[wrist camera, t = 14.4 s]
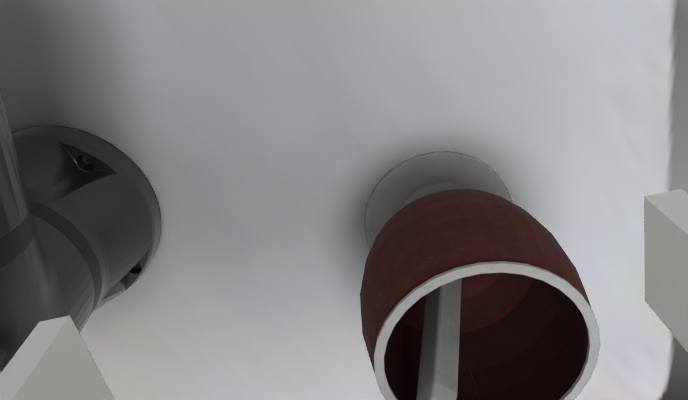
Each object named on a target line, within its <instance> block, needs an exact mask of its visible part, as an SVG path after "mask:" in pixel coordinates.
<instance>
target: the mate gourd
mask: <svg viewBox="0 0 688 400" xmlns="http://www.w3.org/2000/svg"><path fill="white" fill-rule="evenodd" d="M365 232H366V237H367V241H368V244H369V247H370V249H371V250H370V252H369V255H368V257H367V260H366V265H365V270H364V276H363V281H362V287H361V292H360V299H361V316H362V331H363V336H364V340H365V343H366V346H367V350H368V353H369V357H370V360H371V363H372V366H373V370H374V372H375V376H376V379H377V383H378V386H379V389H380V391H381V393H382V395H383V396H384V398H385V400H574V399H575V398H576V397H577V396H578V395H579V394H580V393H581V391H582V390H583V389H584V387H585V386H586V384H587V383H588V381H589V380H590V378H591V376H592V373H593V371H594V369H595V366H596V364H597V361H598V355H599V349H600V335H599V326H598V324H597V321H596V318H595V315H594V312H593V310H592V309H591V306H590V303H589V300H588V298H587V295H586V292H585V289H584V287H583V285H582V282H581V280H580V277H579V275H578V272H577V270H576V268H575V267H574V265H573V264H572V262H571V261H570V259H569V258H568V256H567V255H566V253H565V252H564V251H563V249H562V248H561V246H560V245H559V243H558V242H557V241H556V239H555V238H554V236H553V235H552V234H551V233H550V232H549V231H548V230H547V229H546V228H545V227H544V226H543V225H541V224H540V223H539V222H538V221H537V220H536V219H535V218H533V217H532V216H531V215H530V214H529V213H528V212H526V211H525V210H524V209H522V208H520V207H519V206H517V205H515V204H513V203H512V200H511V197H510V195H509V192H508V190H507V188H506V186H505V185H504V183H503V182H502V180H501V179H500V178H499V176H498V175H497V174H496V173H495V172H494V171H493V170H492V169H491V168H490V167H489V166H488V165H486V164H484V163H483V162H481V161H479V160H477V159H476V158H473V157H470V156H467V155H464V154H461V153H453V152H432V153H427V154H423V155H419V156H416V157H413V158H411V159H409V160H407V161H404V162H402V163H401V164H399V165H398V166H397V167H395V168H394V169H392V170H391V171H390V172H389V173H388V174H387V175H386V176H385V177H384V178H383V179H382V180H381V181H380V182H379V183H378V185H377V186H376V188H375V189H374V191H373V192H372V194H371V197H370V199H369V202H368V204H367V208H366V214H365Z"/></svg>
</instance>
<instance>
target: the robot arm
mask: <svg viewBox="0 0 688 400" xmlns="http://www.w3.org/2000/svg"><path fill="white" fill-rule="evenodd" d="M644 232H645V301H646V302H647V304H648V305H649V306H650V307H651V309H652V310H653V311H654V312H655V313H656V315H657V316H658V317H659V318H660V319H661V321H662V322H663V323H664V324H665V325H666V327H667V328H668V329H669V330H670V331H671V333H672V334H673V335H674V336H675V337H676V339H677V340H678V341H679V342H680V344H681V345H682V346H683V347H684V348H685V350H686V351H687V352H688V194H687V193H685V192H684V191H683V190H682V189H679V190H674V191H669V192H664V193H660V194H655V195H650V196H645V197H644ZM160 233H161V216H160V210H159V206H158V202H157V199H156V196H155V194H154V192H153V190H152V188H151V186H150V184H149V182H148V181H147V179H146V178H145V176H144V175H143V173H142V172H141V171H140V170H139V168H138V167H137V166H136V165H135V164H134V163H133V162H132V161H131V160H130V159H129V158H128V157H127V156H126V155H124V154H123V153H122V152H121V151H119V150H118V149H117V148H115V147H114V146H112V145H111V144H109V143H107V142H106V141H104V140H102V139H100V138H98V137H96V136H93V135H91V134H88V133H86V132H82V131H79V130H75V129H71V128H66V127H59V126H37V127H30V128H25V129H22V130H18V131H15V132H13V133H11V129H10V125H9V121H8V117H7V113H6V109H5V105H4V101H3V97H2V94H1V90H0V400H115V398H114V396H113V395H112V393H111V391H110V389H109V387H108V385H107V383H106V382H105V380H104V378H103V376H102V374H101V372H100V370H99V369H98V367H97V365H96V363H95V361H94V359H93V358H92V356H91V354H90V352H89V350H88V348H87V346H86V345H85V343H84V341H83V339H82V337H81V335H80V331H81V330H82V328H83V327H84V325H85V323H86V322H87V320H88V318H89V317H90V315H91V313H92V312H93V311H94V310H96V309H97V308H99V307H100V306H102V305H103V304H105V303H107V302H108V301H110V300H111V299H113V298H114V297H116V296H117V295H119V294H120V293H122V292H124V291H125V290H126V289H128V288H129V287H130V286H131V285H132V284H133V283H135V282H136V281H137V279H138V278H139V277H140V276H141V275H142V273H143V272H144V271H145V269H146V267H147V266H148V264H149V262H150V260H151V258H152V257H153V255H154V253H155V251H156V248H157V246H158V243H159V239H160Z"/></svg>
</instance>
